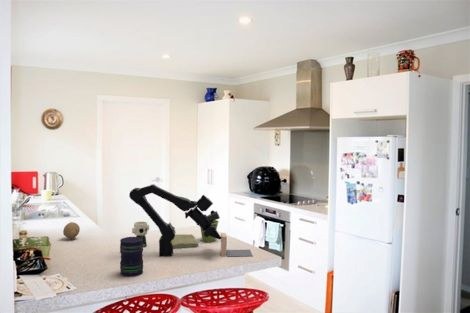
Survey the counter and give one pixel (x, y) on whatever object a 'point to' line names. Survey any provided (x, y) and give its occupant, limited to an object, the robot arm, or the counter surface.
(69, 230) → the natural sponge
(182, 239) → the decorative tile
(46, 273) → the counter surface
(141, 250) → the storage jar
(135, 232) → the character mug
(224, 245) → the tile
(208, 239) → the plant pot
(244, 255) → the mat
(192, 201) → the robot arm
